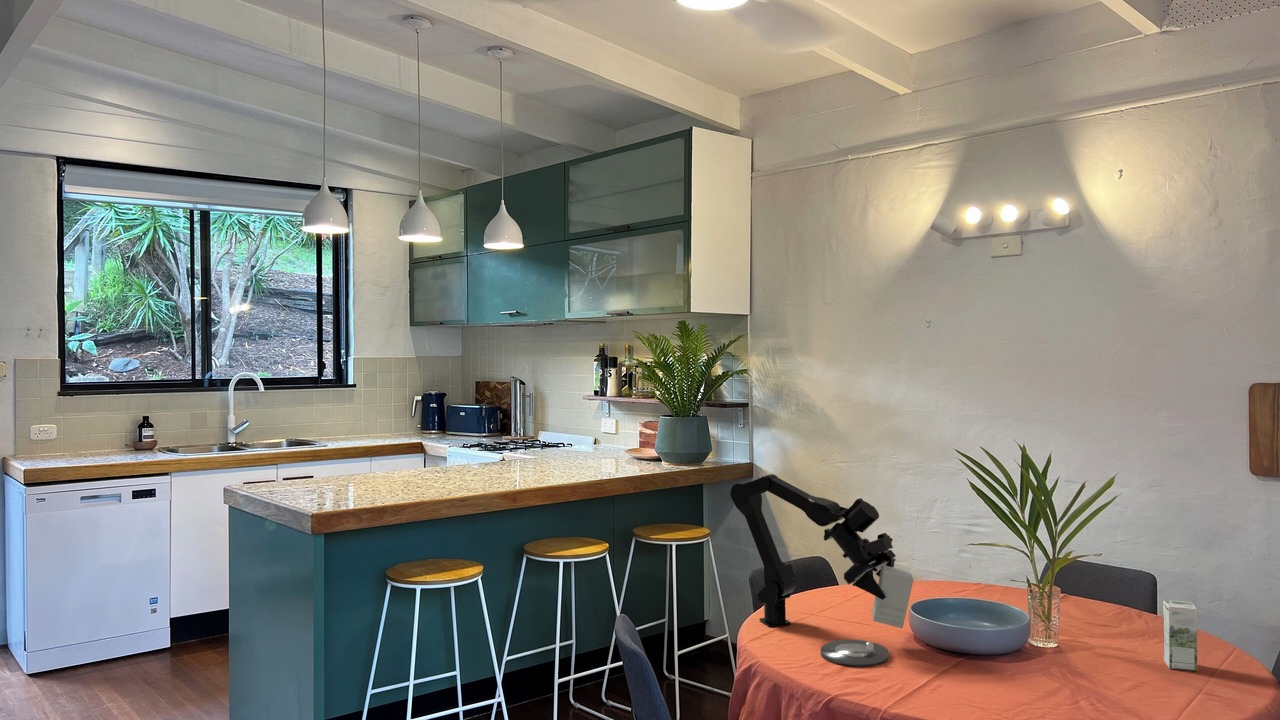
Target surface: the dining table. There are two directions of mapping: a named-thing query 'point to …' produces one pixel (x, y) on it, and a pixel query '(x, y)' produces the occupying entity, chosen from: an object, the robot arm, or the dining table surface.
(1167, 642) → the syrup box
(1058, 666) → the dining table surface
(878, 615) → the supplement box
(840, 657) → the base plate
